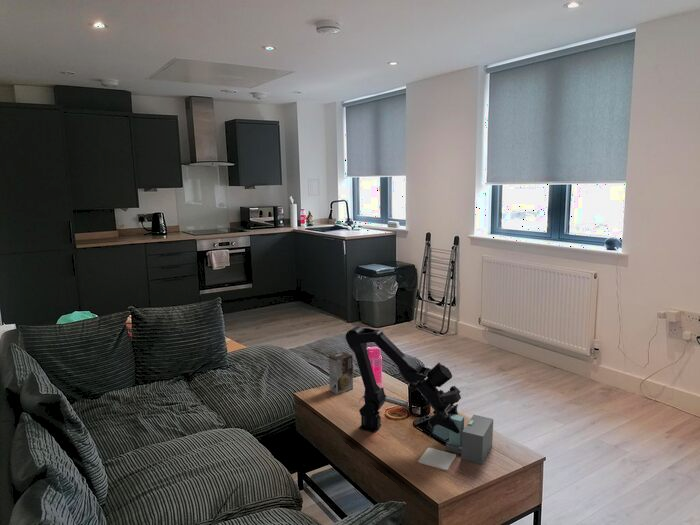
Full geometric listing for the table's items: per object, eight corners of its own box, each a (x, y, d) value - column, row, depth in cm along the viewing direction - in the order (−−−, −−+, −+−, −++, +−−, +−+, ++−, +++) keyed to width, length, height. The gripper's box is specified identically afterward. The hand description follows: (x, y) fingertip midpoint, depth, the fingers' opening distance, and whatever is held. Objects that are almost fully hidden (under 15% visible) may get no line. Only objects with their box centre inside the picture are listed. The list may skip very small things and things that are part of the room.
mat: (418, 462, 165) (418, 461, 165) (428, 448, 174) (428, 447, 174) (446, 470, 160) (447, 469, 160) (456, 456, 169) (456, 454, 169)
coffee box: (344, 384, 230) (344, 351, 227) (353, 389, 225) (353, 355, 222) (328, 390, 224) (328, 355, 221) (337, 394, 219) (337, 359, 216)
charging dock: (442, 454, 170) (443, 425, 169) (455, 436, 182) (456, 409, 181) (482, 464, 164) (483, 435, 162) (492, 445, 176) (493, 417, 174)
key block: (448, 447, 174) (449, 418, 173) (452, 442, 178) (453, 413, 176) (459, 450, 172) (460, 421, 171) (463, 445, 176) (464, 416, 174)
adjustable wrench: (417, 407, 207) (417, 403, 207) (408, 413, 202) (409, 409, 202) (369, 391, 223) (369, 387, 222) (360, 396, 218) (360, 392, 218)
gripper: (438, 391, 165) (469, 430, 162) (455, 373, 181) (484, 407, 178) (415, 408, 170) (445, 446, 167) (434, 389, 187) (462, 423, 183)
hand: (460, 430), depth 173 cm, fingers closed on key block, 4 cm apart
